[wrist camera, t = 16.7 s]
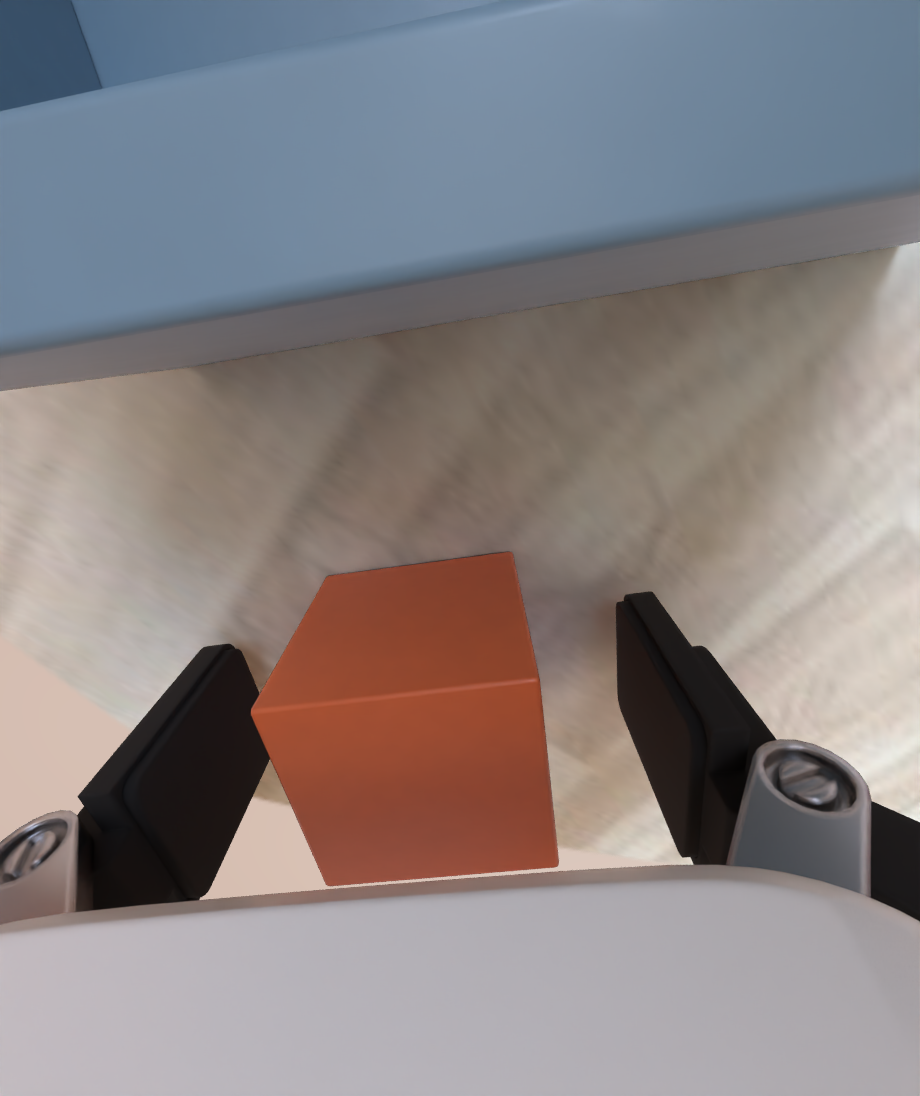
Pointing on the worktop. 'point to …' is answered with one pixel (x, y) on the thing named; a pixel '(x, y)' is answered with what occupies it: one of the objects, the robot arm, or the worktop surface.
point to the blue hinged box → (423, 163)
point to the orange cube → (414, 725)
